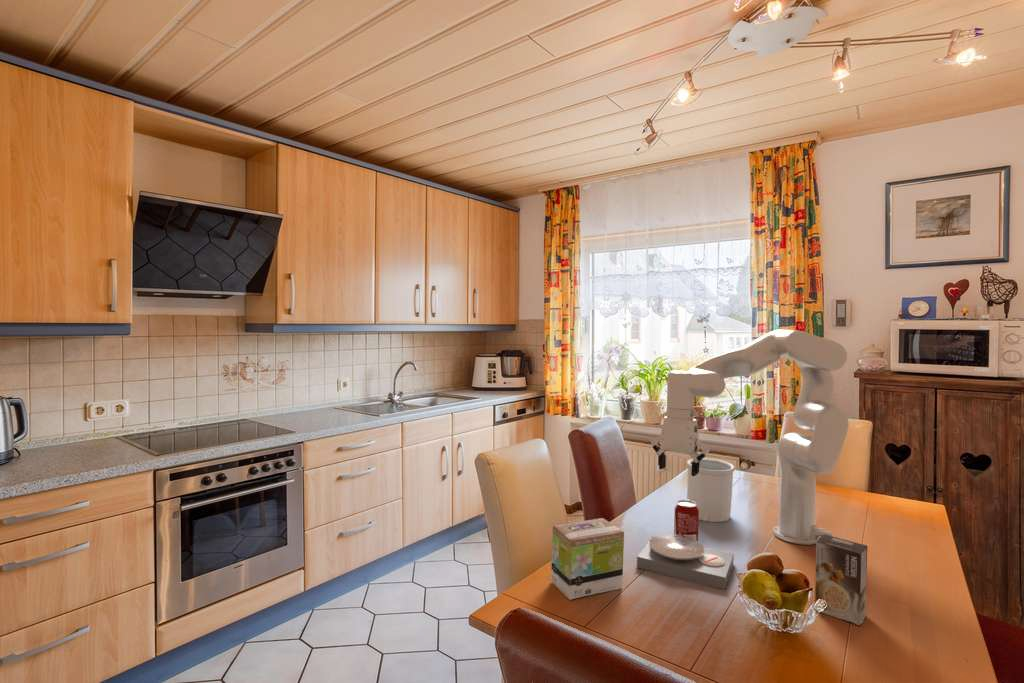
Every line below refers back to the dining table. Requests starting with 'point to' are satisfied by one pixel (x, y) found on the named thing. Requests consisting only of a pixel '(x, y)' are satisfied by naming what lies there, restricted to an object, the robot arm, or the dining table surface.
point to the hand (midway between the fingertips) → (678, 471)
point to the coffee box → (841, 578)
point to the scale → (690, 566)
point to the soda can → (686, 519)
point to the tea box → (587, 557)
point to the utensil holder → (711, 489)
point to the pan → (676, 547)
